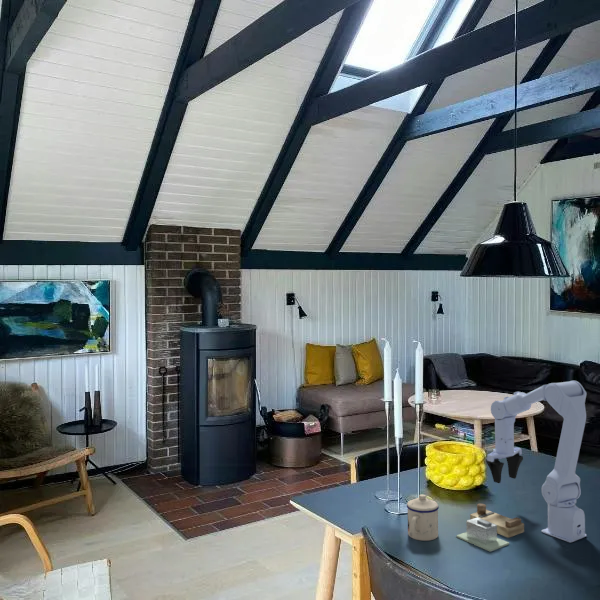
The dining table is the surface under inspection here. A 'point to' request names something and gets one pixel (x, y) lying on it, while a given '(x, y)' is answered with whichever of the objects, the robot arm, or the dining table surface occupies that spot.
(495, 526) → the pale grey box
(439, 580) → the dining table surface
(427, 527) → the teacup with lid
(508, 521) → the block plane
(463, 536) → the mat
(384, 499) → the dining table surface
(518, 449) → the robot arm
